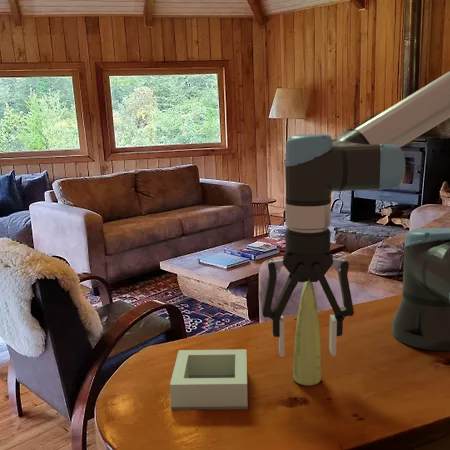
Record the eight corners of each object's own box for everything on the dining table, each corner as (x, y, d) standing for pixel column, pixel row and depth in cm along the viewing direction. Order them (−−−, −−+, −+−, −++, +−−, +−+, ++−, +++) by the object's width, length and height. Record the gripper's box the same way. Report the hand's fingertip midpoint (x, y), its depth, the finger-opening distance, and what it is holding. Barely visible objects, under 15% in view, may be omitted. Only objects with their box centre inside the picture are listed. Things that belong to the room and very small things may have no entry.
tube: (329, 382, 93) (331, 277, 89) (308, 391, 90) (308, 283, 86) (307, 369, 97) (308, 269, 93) (286, 377, 95) (286, 274, 91)
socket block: (246, 371, 97) (246, 349, 96) (247, 409, 85) (247, 383, 84) (179, 372, 98) (178, 350, 97) (171, 409, 86) (169, 384, 85)
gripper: (365, 221, 91) (362, 342, 96) (244, 224, 92) (247, 344, 97) (376, 231, 84) (372, 361, 89) (245, 234, 85) (247, 363, 89)
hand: (307, 352), depth 93 cm, fingers open, 8 cm apart
